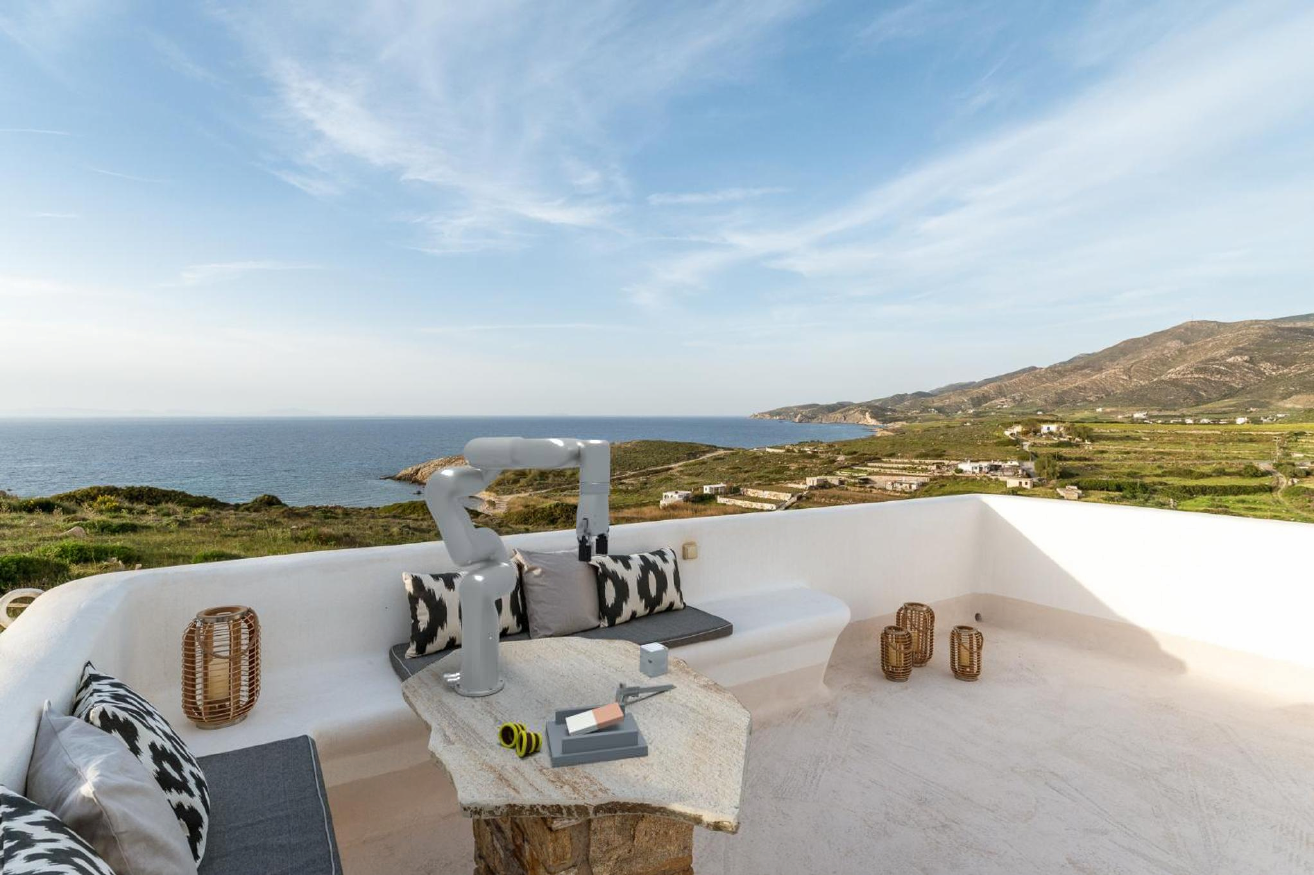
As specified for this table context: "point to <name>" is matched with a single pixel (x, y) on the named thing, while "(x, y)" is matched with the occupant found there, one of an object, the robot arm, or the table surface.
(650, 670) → the skincare box
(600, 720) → the two-tone peach white tile
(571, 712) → the grey piece
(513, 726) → the opera glasses
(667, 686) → the caliper
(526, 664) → the table surface
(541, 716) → the table surface
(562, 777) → the table surface
